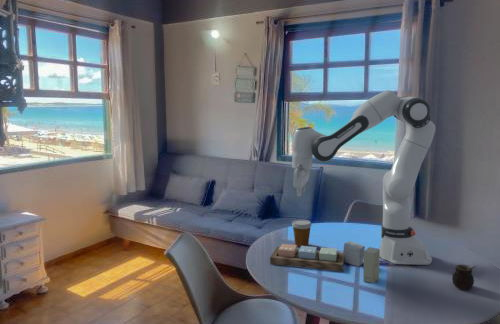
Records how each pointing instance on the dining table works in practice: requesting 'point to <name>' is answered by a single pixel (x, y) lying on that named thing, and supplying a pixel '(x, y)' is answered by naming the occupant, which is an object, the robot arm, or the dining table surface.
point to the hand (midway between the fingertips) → (300, 193)
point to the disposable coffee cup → (301, 232)
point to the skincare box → (371, 265)
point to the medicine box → (353, 253)
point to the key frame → (308, 261)
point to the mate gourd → (463, 277)
